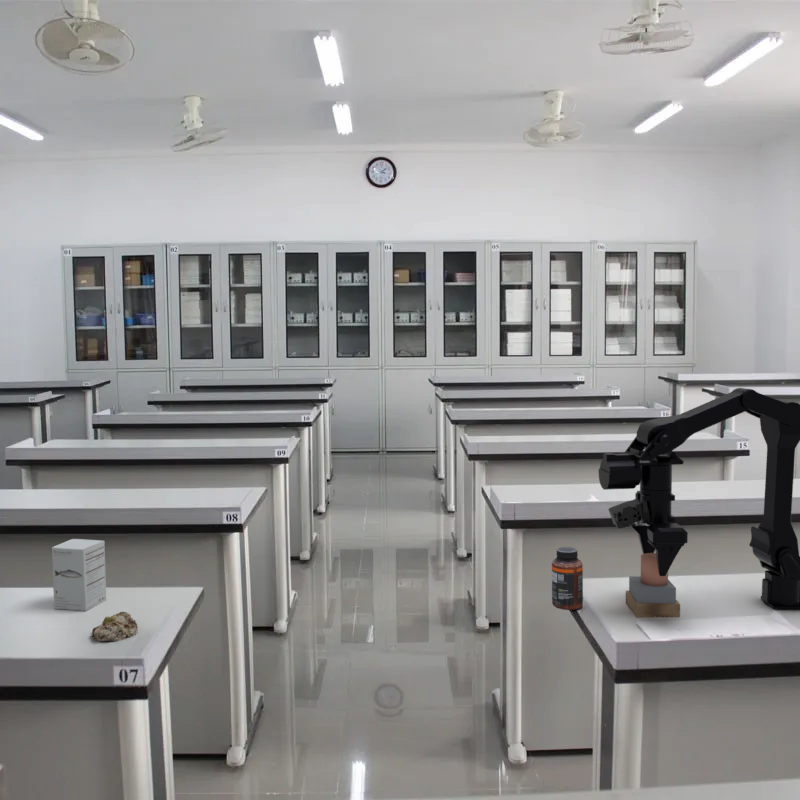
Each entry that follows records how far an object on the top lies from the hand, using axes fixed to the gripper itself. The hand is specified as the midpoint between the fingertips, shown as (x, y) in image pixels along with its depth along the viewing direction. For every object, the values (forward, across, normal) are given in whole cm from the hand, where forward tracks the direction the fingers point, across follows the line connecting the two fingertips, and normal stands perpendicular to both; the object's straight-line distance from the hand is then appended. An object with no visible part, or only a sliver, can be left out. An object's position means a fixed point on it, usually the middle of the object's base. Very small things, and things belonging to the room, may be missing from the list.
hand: (654, 568), depth 153 cm
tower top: (+6, 0, 0) cm, 6 cm away
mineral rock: (+9, +9, -100) cm, 101 cm away
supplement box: (+8, -6, -113) cm, 113 cm away
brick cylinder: (+3, 0, 0) cm, 3 cm away
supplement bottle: (+8, -3, -16) cm, 18 cm away
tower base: (+9, 0, 0) cm, 9 cm away
